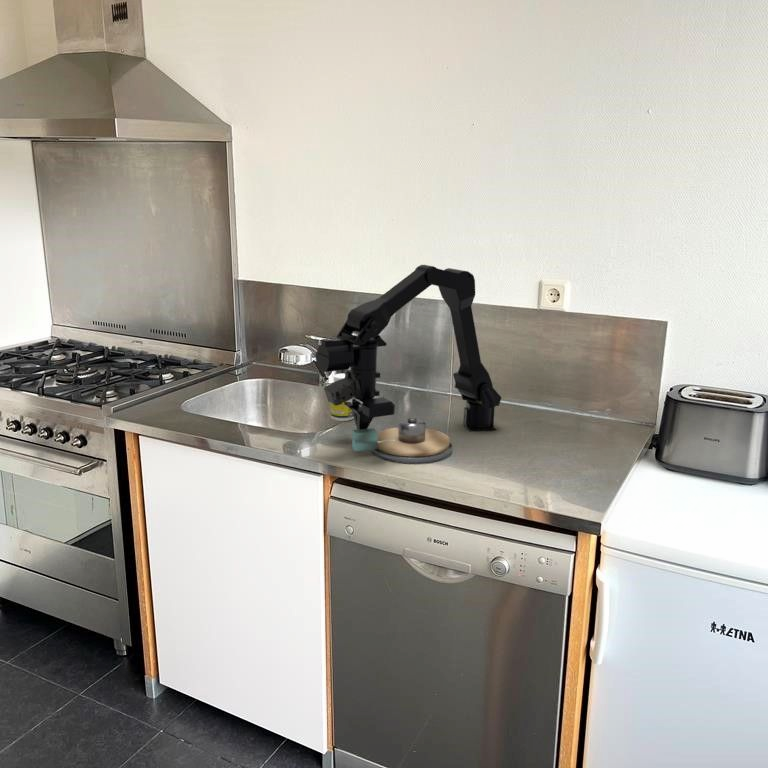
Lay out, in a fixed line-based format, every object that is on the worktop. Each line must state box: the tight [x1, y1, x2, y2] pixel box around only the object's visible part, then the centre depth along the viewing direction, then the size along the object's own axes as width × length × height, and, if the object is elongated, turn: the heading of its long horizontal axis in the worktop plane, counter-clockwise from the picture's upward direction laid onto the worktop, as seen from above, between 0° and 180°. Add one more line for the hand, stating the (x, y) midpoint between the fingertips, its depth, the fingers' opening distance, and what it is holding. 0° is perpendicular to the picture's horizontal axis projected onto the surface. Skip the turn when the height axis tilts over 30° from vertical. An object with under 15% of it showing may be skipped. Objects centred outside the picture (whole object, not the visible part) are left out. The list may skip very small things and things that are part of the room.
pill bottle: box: [330, 373, 354, 422], centre depth 191 cm, size 6×6×11 cm
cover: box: [398, 416, 427, 444], centre depth 169 cm, size 6×6×5 cm
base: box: [371, 442, 453, 465], centre depth 171 cm, size 18×18×1 cm
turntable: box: [351, 427, 451, 457], centre depth 169 cm, size 22×17×4 cm
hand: (361, 435), depth 169 cm, fingers closed
